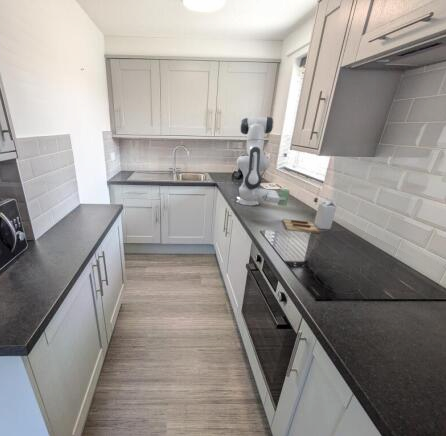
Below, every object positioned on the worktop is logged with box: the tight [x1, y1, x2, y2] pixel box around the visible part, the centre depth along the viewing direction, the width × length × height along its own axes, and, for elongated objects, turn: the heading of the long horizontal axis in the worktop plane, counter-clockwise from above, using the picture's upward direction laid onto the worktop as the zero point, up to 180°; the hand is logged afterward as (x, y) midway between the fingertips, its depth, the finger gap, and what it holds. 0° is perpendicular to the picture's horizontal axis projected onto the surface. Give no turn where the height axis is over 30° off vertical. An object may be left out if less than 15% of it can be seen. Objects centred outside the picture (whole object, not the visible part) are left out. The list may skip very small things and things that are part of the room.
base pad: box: [282, 218, 320, 234], centre depth 148 cm, size 16×18×3 cm
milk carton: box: [313, 197, 337, 230], centre depth 146 cm, size 7×7×19 cm
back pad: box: [277, 188, 290, 207], centre depth 151 cm, size 4×5×10 cm
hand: (284, 197), depth 151 cm, fingers closed on back pad, 4 cm apart
